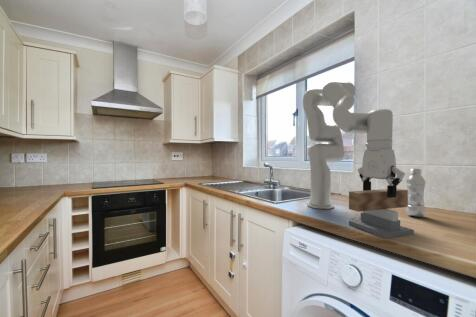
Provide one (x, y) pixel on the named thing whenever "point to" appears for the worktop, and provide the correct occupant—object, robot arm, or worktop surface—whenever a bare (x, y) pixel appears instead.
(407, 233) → the ridge stand
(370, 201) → the brown wooden block
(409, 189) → the plastic bottle
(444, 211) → the worktop surface
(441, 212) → the worktop surface
